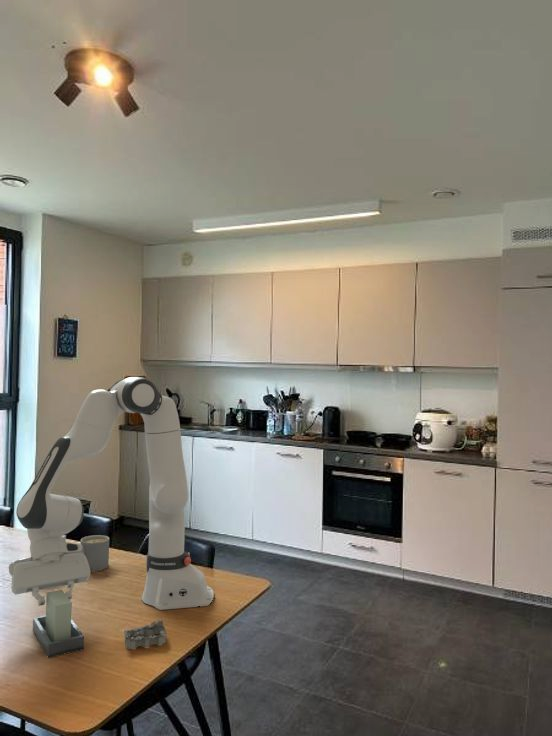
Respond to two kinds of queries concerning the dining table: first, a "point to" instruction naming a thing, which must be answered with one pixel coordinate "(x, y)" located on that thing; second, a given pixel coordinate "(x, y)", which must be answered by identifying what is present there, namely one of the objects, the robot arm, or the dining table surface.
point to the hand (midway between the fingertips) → (55, 601)
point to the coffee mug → (96, 551)
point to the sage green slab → (58, 616)
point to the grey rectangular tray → (62, 645)
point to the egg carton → (146, 631)
